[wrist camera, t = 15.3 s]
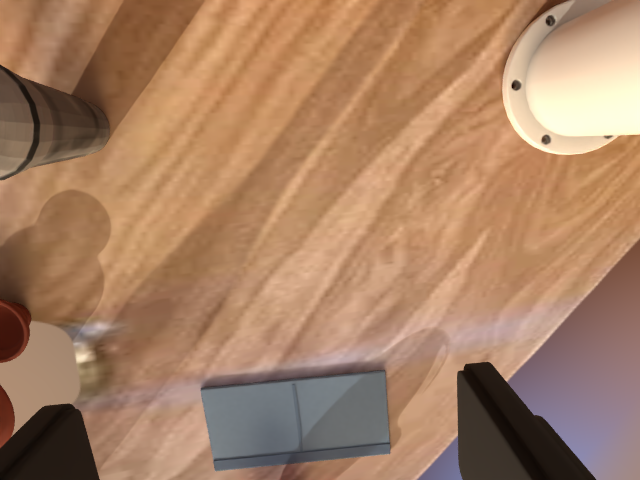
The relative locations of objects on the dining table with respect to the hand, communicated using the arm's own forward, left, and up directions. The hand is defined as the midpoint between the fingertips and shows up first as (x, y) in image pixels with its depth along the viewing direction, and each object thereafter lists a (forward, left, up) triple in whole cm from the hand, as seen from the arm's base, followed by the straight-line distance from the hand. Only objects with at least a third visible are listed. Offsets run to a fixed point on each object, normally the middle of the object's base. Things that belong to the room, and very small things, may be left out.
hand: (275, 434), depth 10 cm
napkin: (+3, +21, -28) cm, 35 cm away
